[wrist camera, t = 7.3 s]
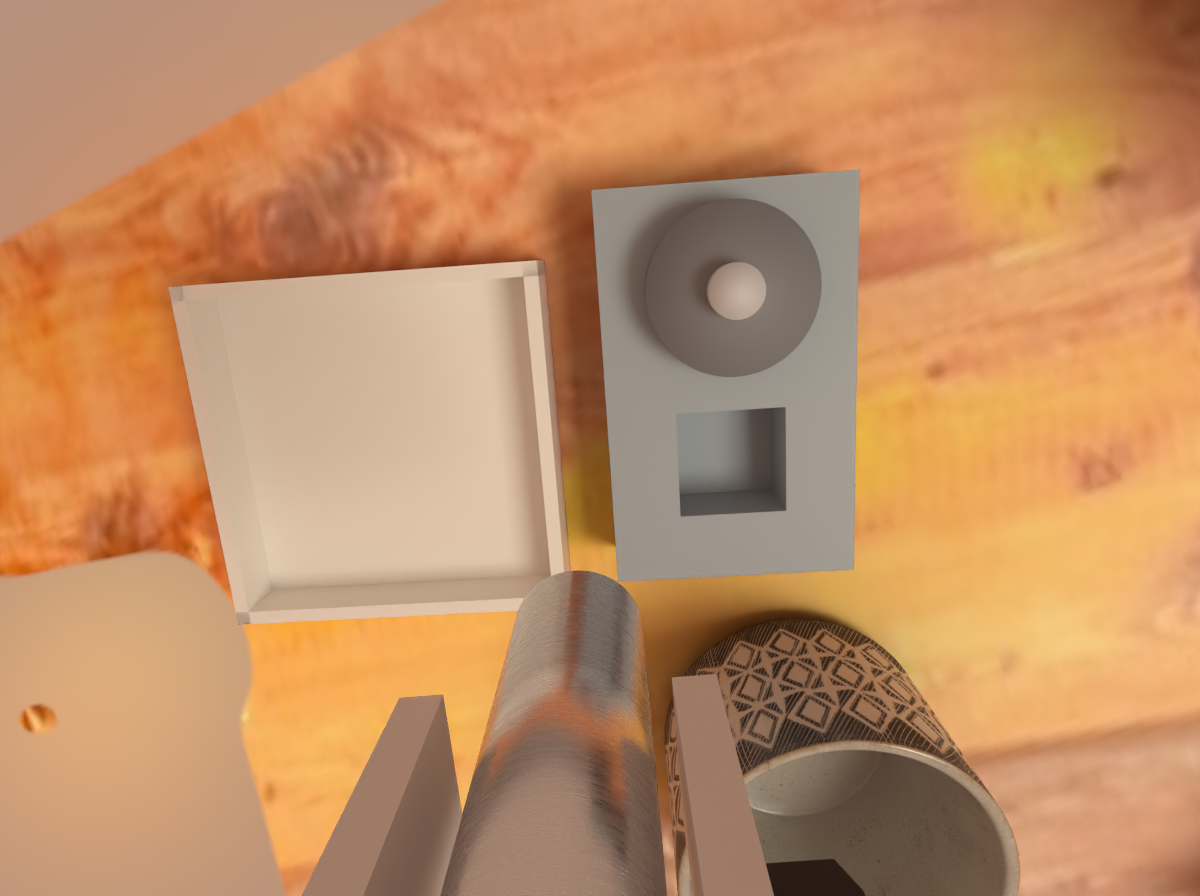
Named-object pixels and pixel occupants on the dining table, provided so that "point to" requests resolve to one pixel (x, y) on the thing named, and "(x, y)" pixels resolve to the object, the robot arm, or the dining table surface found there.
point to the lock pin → (566, 755)
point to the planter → (849, 766)
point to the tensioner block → (730, 373)
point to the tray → (379, 439)
